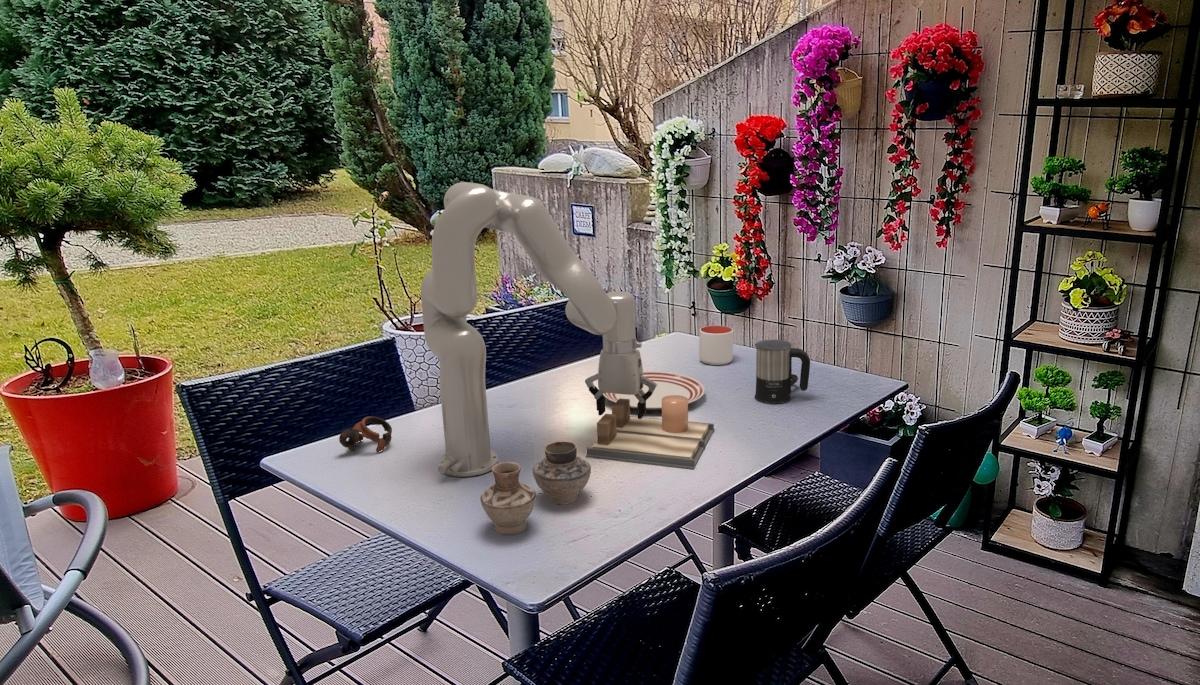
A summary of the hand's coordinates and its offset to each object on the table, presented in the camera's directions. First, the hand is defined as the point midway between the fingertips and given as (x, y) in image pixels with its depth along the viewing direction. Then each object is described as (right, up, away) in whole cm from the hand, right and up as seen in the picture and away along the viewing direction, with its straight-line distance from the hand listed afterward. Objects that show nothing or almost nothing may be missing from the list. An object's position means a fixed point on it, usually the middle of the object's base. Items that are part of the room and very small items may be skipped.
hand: (621, 415), depth 182 cm
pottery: (-16, -15, -36) cm, 42 cm away
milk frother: (+42, +3, +23) cm, 48 cm away
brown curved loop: (-59, -8, -5) cm, 60 cm away
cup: (+30, +11, +52) cm, 61 cm away
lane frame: (+7, -6, -7) cm, 11 cm away
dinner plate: (+9, +2, +23) cm, 24 cm away
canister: (+12, -3, -4) cm, 13 cm away
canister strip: (+9, -4, -2) cm, 10 cm away
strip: (+5, -7, -11) cm, 14 cm away
